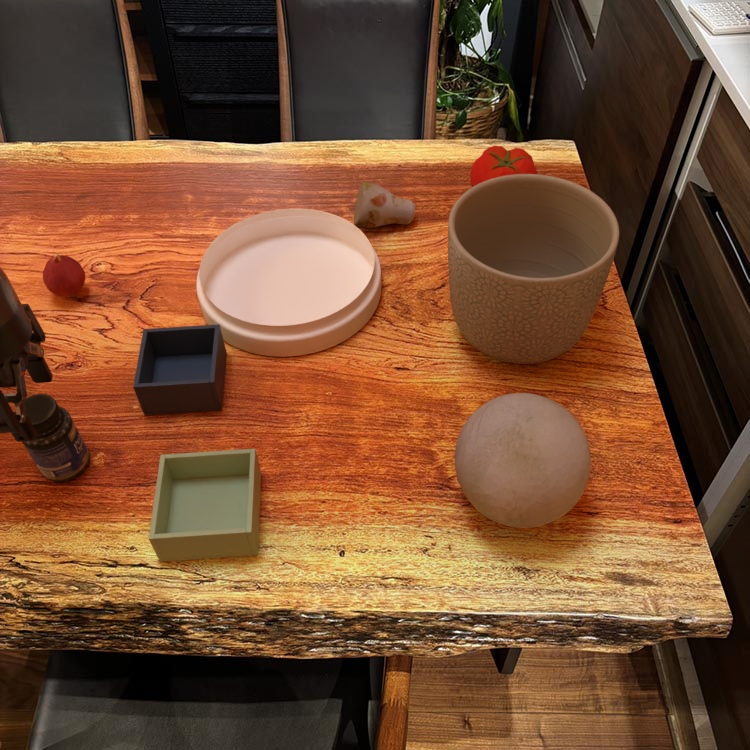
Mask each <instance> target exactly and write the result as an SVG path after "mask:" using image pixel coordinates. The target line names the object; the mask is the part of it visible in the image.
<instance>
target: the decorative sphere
mask: <svg viewBox="0 0 750 750" xmlns="http://www.w3.org/2000/svg"><path fill="white" fill-rule="evenodd" d="M588 440H589V439H588V437H587V435H586V433H585V431H584V429H583V427H582V425H581V424H580V422H579V421H578V420H577V418H576V417H575V416H574V415H573V414H572V413H571V412H570V411H569V410H568V409H567V408H565V407H564V406H563V405H562V404H560V403H559V402H557V401H555V400H553V399H551V398H548V397H547V396H543V395H540V394H535V393H528V392H514V393H513V392H512V393H508V394H504V395H499V396H496V397H495V398H492V399H490V400H488V401H487V402H485V403H484V404H482V405H480V406H479V407H478V408H477V409H476V410H475V411H474V412H473V413H471V415H470V416H469V417H468V418H467V420H466V421H465V423H464V424H463V425H462V428H461V429H460V432H459V434H458V437H457V440H456V443H455V449H454V450H455V451H454V468H455V474H456V479H457V482H458V484H459V486H460V489H461V491H462V493H463V494H464V496H465V498H466V499H467V500H468V502H469V503H470V504H471V505H472V506H473V507H474V508H475V510H477V511H478V512H479V513H480V514H482V515H483V516H484V517H485V518H488V519H490V520H491V521H493V522H495V523H497V524H500V525H503V526H506V527H507V526H508V527H511V528H518V529H526V528H527V529H528V528H532V529H533V528H537V527H542V526H545V525H548V524H551V523H553V522H555V521H557V520H559V519H561V518H562V517H563V516H565V515H566V514H568V512H570V511H571V510H572V509H573V508H574V507H575V506H576V504H577V503H579V500H580V499H581V498H582V496H583V494H584V492H585V491H586V487H587V486H588V484H589V481H590V474H591V470H592V469H591V468H592V456H591V448H590V445H589V441H588Z"/></svg>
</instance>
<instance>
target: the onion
mask: <svg viewBox="0 0 750 750" xmlns="http://www.w3.org/2000/svg"><path fill="white" fill-rule="evenodd" d="M86 278H87V277H86V271H85V269H84V268H83V266H82V265H81V263H79V261H77V260H76V259H74V258H73V257H71V256H69V255H62V254H58V253H55V254H53V256H52V257H51V258H50V259H48V261H47V262H46V263H45V265H44V267H43V270H42V281H43V284H44V285H45V287H46V289H47V290H48V291H49V292H50V293H52V294H54V295H55V296H57V297H63V298H73V297H75V296H76V295H78V293H79V292H80V291H81V290H82V289H83V287H84V285H85V282H86Z"/></svg>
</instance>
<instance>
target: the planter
mask: <svg viewBox="0 0 750 750" xmlns="http://www.w3.org/2000/svg"><path fill="white" fill-rule="evenodd" d="M613 211H614V210H612V209H611V207H610V206H609V205H608V204H607V203H606V201H604V199H603V198H601V197H600V196H599V195H597V194H596V192H593V191H592V190H590V189H588V188H586V187H585V186H582V185H581V184H578V183H576V182H574V181H571V180H568V179H565V178H561V177H557V176H552V175H548V174H547V175H546V174H539V173H538V174H514V175H506V176H501V177H496V178H493V179H490V180H487V181H484V182H482V183H479V184H477V185H475V186H474V187H472V186H471V188H469V189H467V190H466V191H465V192H464V193H462V194H461V196H460V197H458V198H457V200H455V203H454V204H453V206H452V207H451V210H450V213H449V217H448V225H447V265H448V267H447V268H448V269H447V270H448V287H449V298H450V304H451V312H452V315H453V319H454V322H455V324H456V326H457V328H458V329H459V331H460V333H461V335H462V336H463V337H464V338H465V340H466V341H467V342H468V343H469V344H470V345H471V346H473V348H475V349H476V350H478V351H479V352H481V353H482V354H484V355H486V356H488V357H490V358H493V359H495V360H497V361H501V362H505V363H511V364H517V365H518V364H519V365H528V364H538V363H543V362H547V361H550V360H553V359H555V358H558V357H559V356H562V355H564V354H565V353H567V352H568V351H569V350H571V349H572V348H573V347H574V346H575V345H576V344H577V343H578V342H579V341H580V340H581V338H582V337H583V336H584V334H585V333H586V331H587V329H588V328H589V325H590V324H591V322H592V319H593V317H594V315H595V312H596V310H597V307H598V305H599V303H600V300H601V298H602V295H603V292H604V289H605V286H606V284H607V281H608V279H609V275H610V272H611V269H612V266H613V263H614V260H615V256H616V253H617V248H618V245H619V240H620V227H619V222H618V219H617V217H616V214H615V213H614V212H613Z"/></svg>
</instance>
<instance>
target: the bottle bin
mask: <svg viewBox="0 0 750 750" xmlns="http://www.w3.org/2000/svg"><path fill="white" fill-rule="evenodd" d="M141 336H142V337H141V341H140V346H139V352H138V358H137V364H136V368H135V375H134V380H133V386H132V388H133V390H134V393H135V395H136V399H137V400H138V403H139V406H140V408H141V411H142V413H143V415H144V416H153V415H154V416H155V415H157V416H158V415H171V414H187V413H202V412H215V411H216V412H217V411H223V406H224V405H223V404H224V392H225V380H226V379H225V378H226V368H227V367H226V365H227V355H228V353H227V348H226V345H225V341H224V340H223V336H222V332H221V328H220V325H219V324H217V325H208V324H204V325H189V326H170V327H156V328H155V327H154V328H143V330H142V335H141Z"/></svg>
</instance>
